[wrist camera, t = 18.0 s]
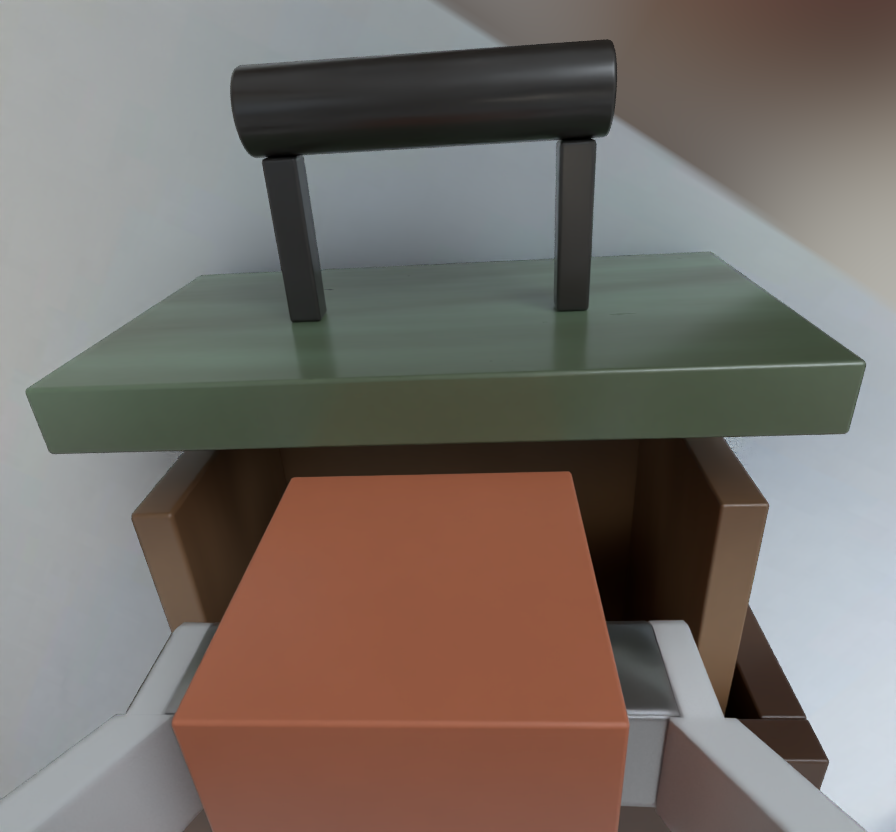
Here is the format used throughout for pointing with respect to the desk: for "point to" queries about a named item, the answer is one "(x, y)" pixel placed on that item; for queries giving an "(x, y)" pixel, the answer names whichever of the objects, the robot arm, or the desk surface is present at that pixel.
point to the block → (412, 665)
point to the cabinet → (750, 701)
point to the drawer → (459, 356)
